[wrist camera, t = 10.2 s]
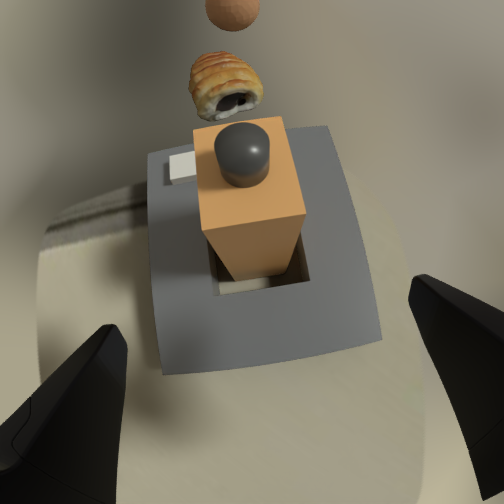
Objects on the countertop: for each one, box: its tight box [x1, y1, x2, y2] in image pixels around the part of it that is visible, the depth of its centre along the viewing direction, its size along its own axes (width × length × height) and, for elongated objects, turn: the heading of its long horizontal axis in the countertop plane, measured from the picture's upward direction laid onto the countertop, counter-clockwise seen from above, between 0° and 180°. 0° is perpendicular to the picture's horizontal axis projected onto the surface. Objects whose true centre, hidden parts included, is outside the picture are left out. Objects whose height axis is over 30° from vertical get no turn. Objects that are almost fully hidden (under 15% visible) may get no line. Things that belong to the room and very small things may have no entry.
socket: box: [147, 126, 382, 375], centre depth 20 cm, size 16×14×4 cm
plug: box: [193, 116, 306, 281], centre depth 15 cm, size 4×4×13 cm
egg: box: [205, 0, 260, 31], centre depth 25 cm, size 6×6×8 cm
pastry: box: [189, 51, 264, 122], centre depth 24 cm, size 9×7×4 cm
